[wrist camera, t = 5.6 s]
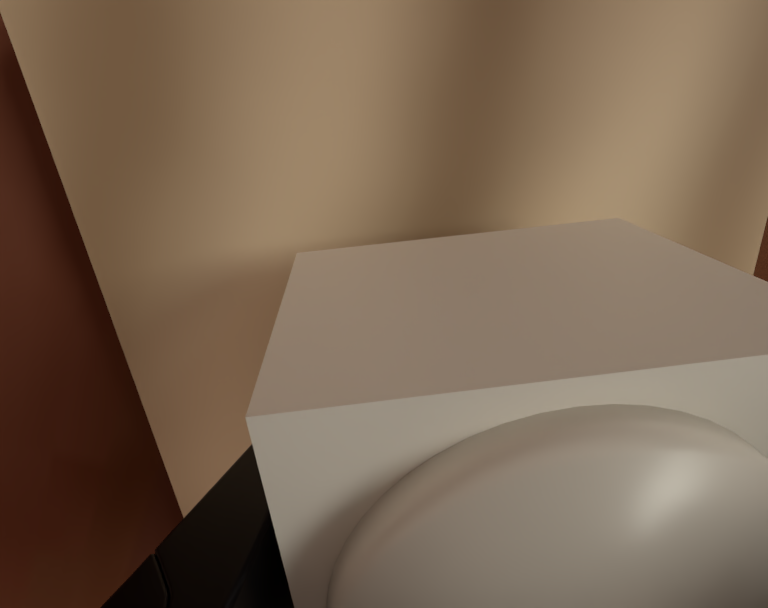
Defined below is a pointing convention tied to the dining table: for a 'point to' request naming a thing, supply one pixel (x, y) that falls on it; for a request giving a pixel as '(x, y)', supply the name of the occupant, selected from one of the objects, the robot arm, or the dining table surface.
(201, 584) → the robot arm
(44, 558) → the dining table surface
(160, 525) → the dining table surface
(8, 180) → the dining table surface
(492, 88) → the stud plate
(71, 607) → the dining table surface
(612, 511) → the white domed square block
